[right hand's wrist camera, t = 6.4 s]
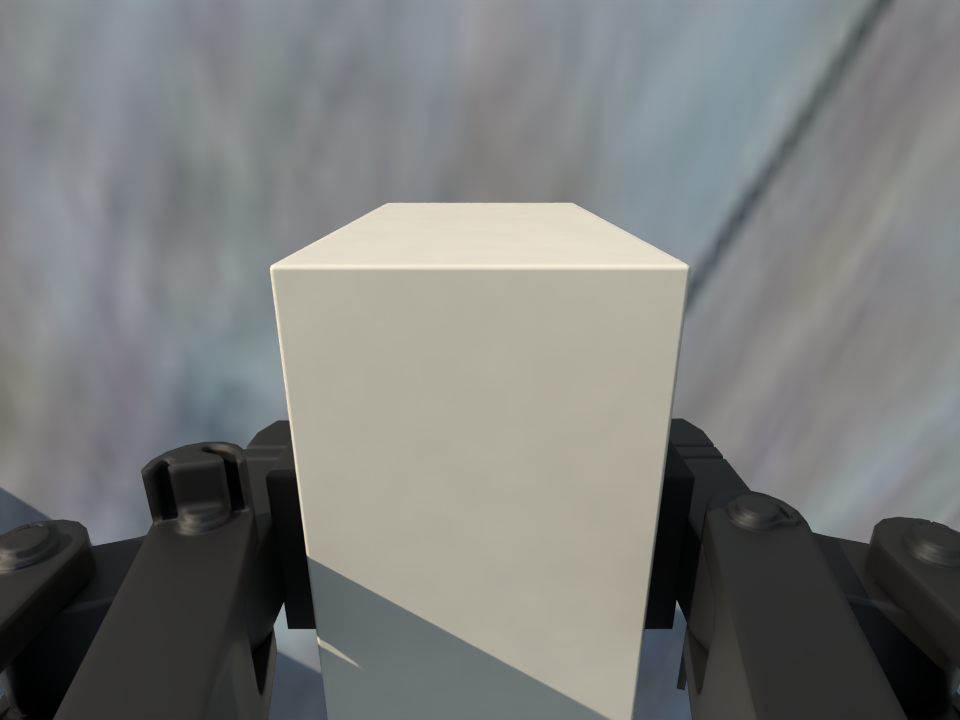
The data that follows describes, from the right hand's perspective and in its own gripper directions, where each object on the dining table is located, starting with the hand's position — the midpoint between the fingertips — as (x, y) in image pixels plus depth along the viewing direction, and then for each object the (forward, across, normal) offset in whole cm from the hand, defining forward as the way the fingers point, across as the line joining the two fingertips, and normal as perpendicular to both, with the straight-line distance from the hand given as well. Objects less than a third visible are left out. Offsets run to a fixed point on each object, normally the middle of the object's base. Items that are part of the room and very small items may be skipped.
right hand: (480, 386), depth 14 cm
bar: (+1, 0, -11) cm, 11 cm away
